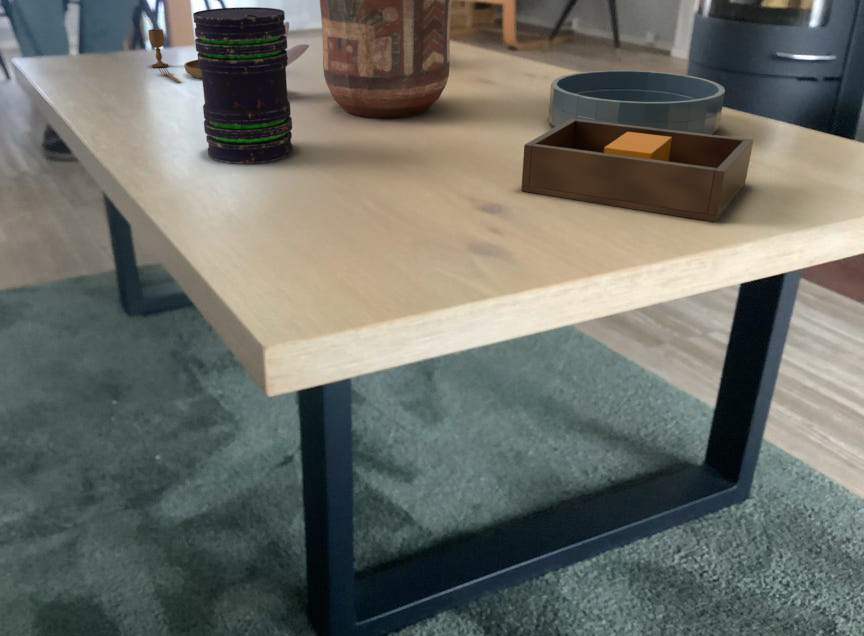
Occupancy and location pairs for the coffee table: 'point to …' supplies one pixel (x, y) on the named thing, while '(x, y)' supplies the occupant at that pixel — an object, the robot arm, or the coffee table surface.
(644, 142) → the block
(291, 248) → the coffee table surface
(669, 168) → the box
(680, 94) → the bowl
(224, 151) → the storage jar
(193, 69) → the place setting
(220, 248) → the coffee table surface
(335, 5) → the pottery
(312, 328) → the coffee table surface
